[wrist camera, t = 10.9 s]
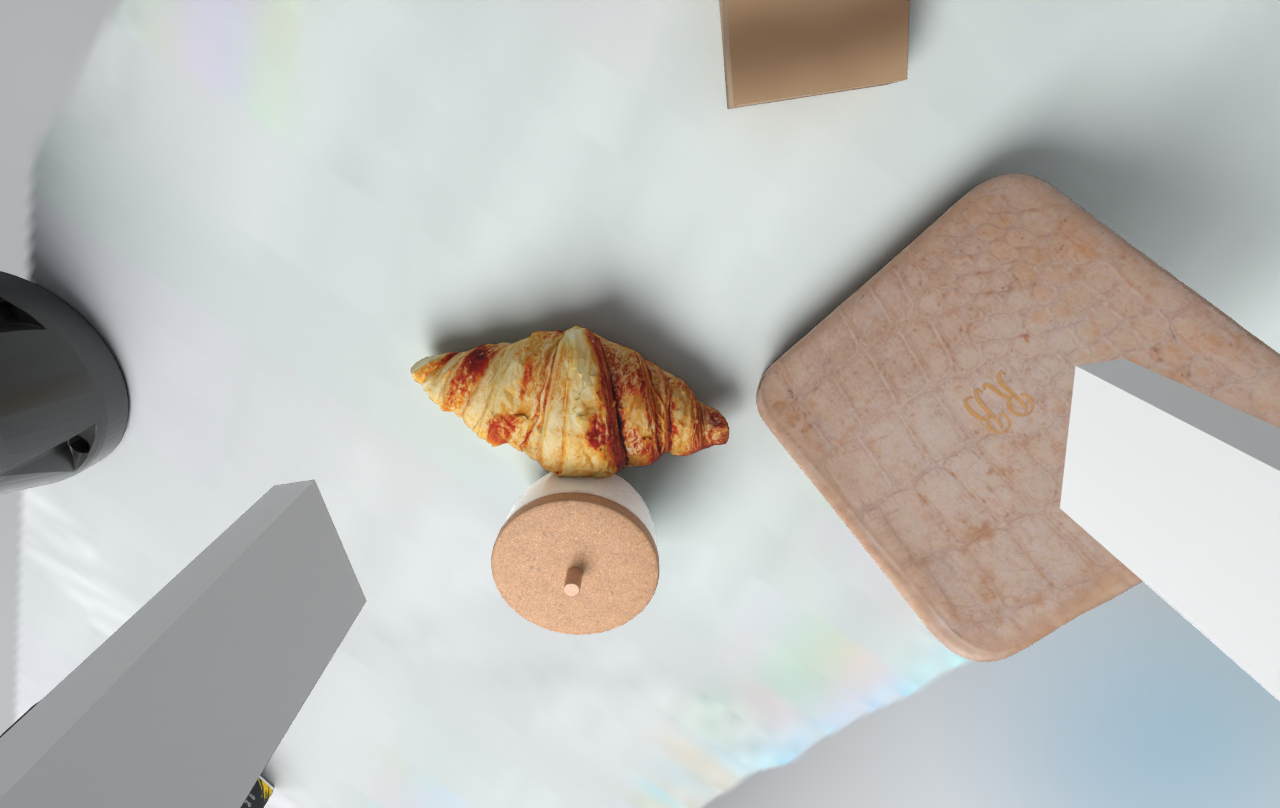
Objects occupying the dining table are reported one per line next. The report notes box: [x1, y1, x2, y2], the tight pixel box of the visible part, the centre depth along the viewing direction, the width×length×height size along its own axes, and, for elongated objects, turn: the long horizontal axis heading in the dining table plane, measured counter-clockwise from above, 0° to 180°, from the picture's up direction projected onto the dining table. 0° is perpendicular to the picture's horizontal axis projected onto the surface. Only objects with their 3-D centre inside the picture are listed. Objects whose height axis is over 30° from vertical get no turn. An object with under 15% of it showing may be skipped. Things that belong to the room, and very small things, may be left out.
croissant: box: [411, 326, 729, 478], centre depth 40 cm, size 21×10×8 cm, turn 80°
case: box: [756, 173, 1280, 662], centre depth 35 cm, size 20×21×16 cm
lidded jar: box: [491, 472, 659, 635], centre depth 42 cm, size 11×11×9 cm
